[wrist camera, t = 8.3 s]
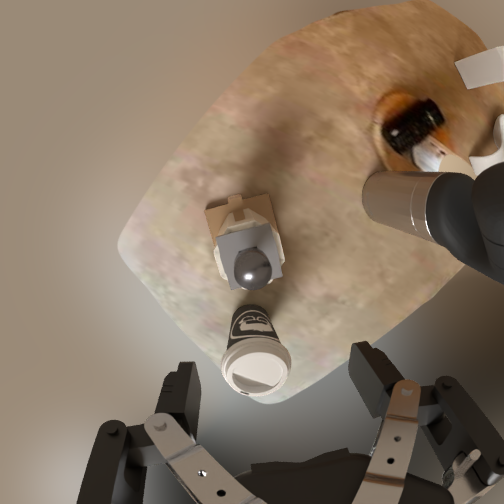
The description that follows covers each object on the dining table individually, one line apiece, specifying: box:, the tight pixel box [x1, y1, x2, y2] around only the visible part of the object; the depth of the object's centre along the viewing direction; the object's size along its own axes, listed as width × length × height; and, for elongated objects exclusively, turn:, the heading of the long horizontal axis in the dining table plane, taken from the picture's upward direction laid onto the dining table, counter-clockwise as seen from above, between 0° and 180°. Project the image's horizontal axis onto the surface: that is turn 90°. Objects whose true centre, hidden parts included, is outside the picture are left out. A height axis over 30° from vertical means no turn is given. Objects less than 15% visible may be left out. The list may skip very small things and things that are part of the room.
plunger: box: [234, 246, 272, 290], centre depth 31 cm, size 5×5×14 cm
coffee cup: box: [221, 305, 291, 396], centre depth 40 cm, size 10×10×15 cm
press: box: [204, 193, 285, 290], centre depth 36 cm, size 10×11×15 cm
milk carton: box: [454, 46, 504, 89], centre depth 27 cm, size 7×7×19 cm
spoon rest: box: [469, 114, 504, 175], centre depth 38 cm, size 24×12×7 cm, turn 127°
